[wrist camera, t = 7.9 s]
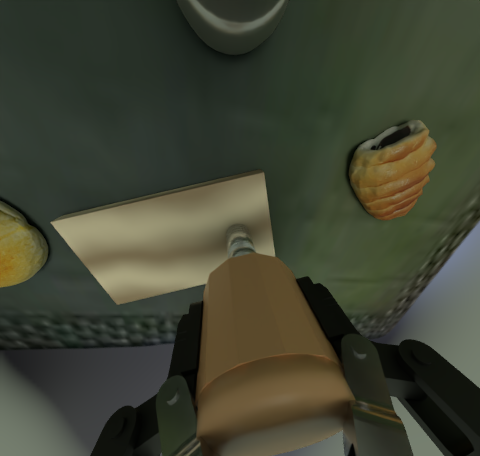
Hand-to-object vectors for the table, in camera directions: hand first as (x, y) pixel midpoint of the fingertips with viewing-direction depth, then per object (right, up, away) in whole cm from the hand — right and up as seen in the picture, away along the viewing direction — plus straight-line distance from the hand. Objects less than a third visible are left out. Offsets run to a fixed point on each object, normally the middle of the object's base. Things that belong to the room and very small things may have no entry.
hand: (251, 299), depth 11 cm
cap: (0, 0, +1) cm, 1 cm away
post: (-1, +4, +7) cm, 8 cm away
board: (-7, +3, +8) cm, 11 cm away
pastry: (+14, +11, +8) cm, 19 cm away
